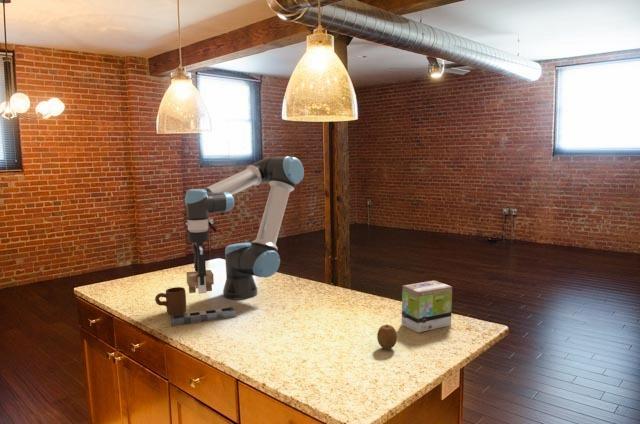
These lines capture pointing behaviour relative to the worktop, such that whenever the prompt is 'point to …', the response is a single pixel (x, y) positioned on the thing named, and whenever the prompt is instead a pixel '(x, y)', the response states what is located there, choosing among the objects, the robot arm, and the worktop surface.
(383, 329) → the fruit
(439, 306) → the tea box
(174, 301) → the mug
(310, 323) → the worktop surface
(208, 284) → the tan cardboard box
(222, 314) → the rail
